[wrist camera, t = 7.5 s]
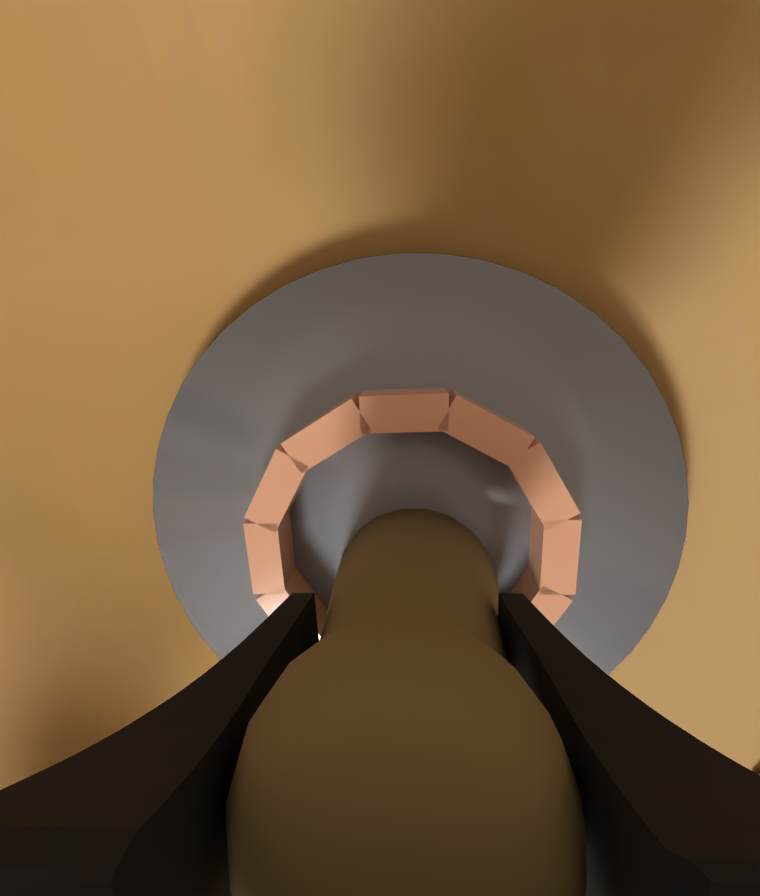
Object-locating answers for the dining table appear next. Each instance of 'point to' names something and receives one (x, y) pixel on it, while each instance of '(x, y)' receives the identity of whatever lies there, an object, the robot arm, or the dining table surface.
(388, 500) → the ring platter
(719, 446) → the dining table surface
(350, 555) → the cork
